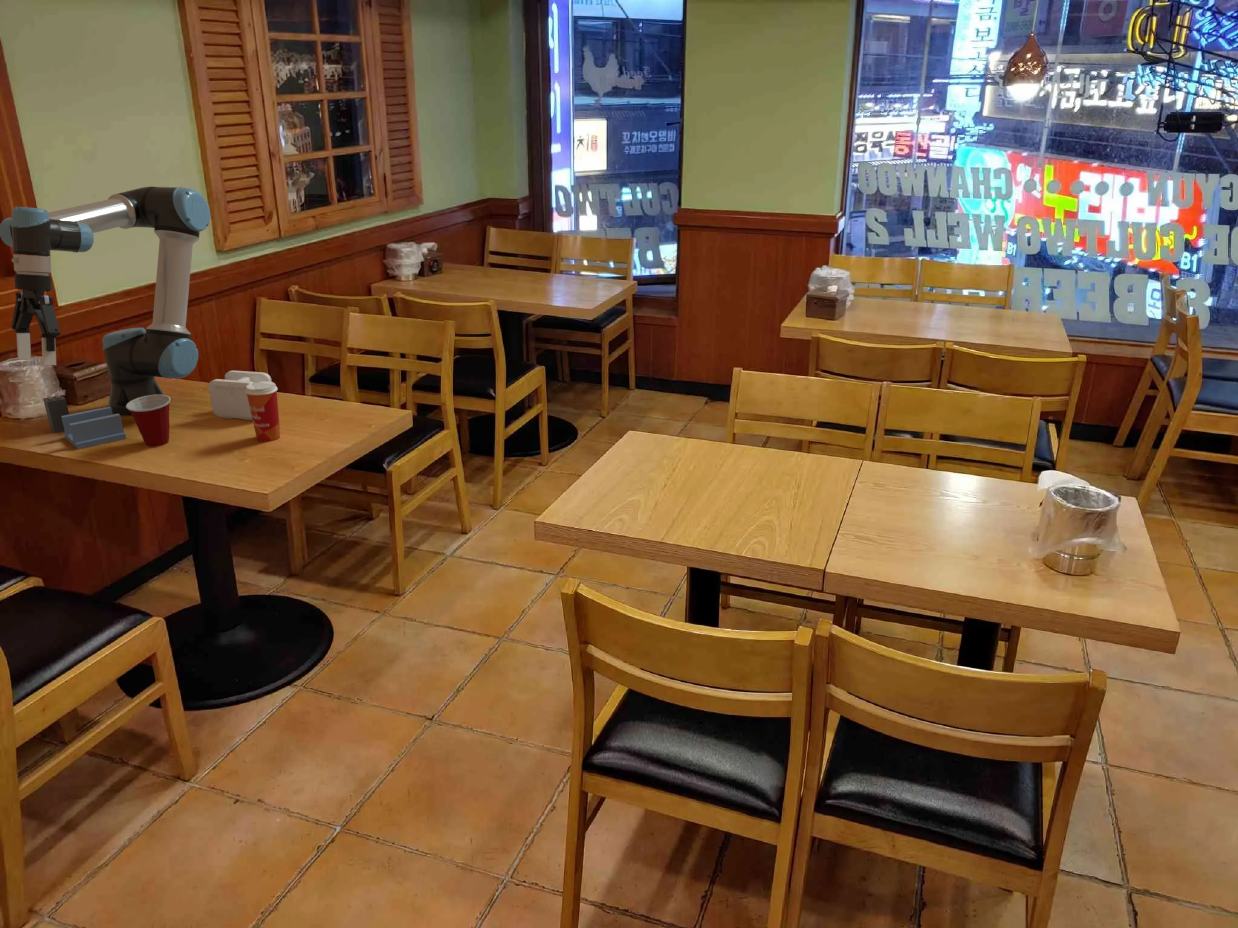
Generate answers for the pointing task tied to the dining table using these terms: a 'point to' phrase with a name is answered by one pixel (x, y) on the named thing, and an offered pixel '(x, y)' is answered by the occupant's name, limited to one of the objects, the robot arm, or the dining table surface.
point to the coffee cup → (264, 410)
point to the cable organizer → (234, 393)
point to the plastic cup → (152, 418)
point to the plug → (56, 411)
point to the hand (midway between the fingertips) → (36, 362)
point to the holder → (93, 427)
